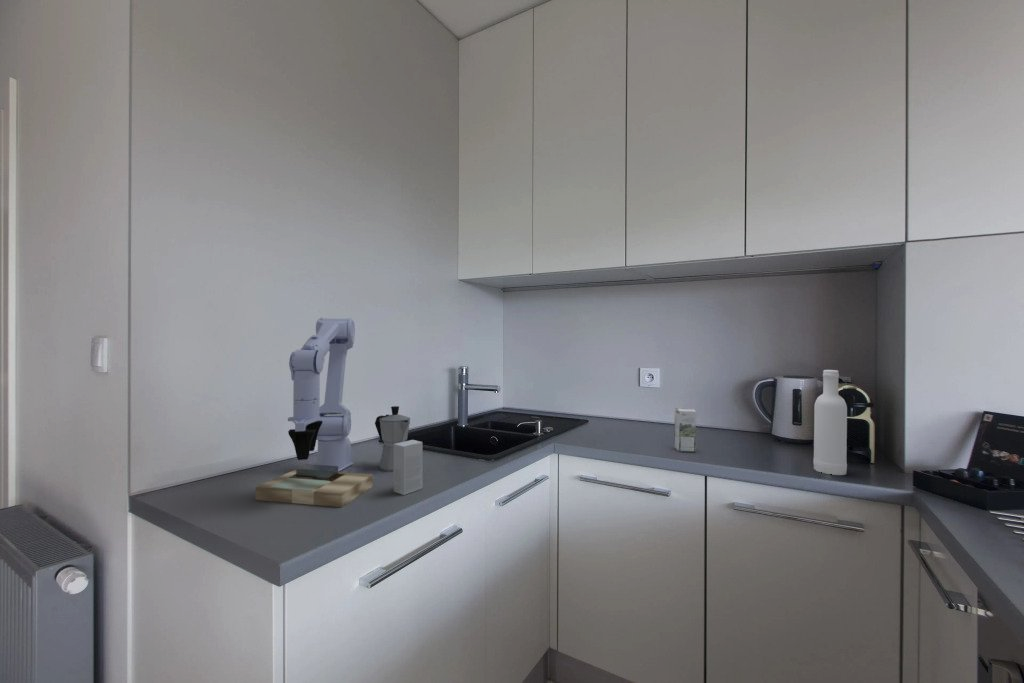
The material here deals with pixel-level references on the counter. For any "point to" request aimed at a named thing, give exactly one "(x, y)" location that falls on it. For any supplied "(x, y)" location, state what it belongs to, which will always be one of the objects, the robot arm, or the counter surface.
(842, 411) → the bottle
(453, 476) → the counter surface
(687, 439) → the syrup box
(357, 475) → the bamboo board
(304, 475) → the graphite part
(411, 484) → the skincare box
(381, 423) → the coffee maker
